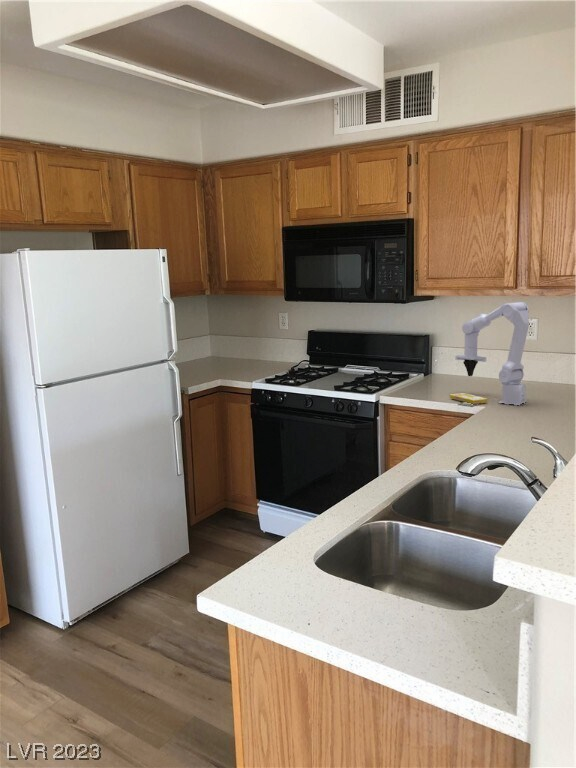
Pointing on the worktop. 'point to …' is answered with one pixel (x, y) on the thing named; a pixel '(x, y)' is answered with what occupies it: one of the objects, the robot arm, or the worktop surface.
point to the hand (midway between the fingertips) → (470, 375)
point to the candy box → (469, 398)
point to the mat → (467, 404)
